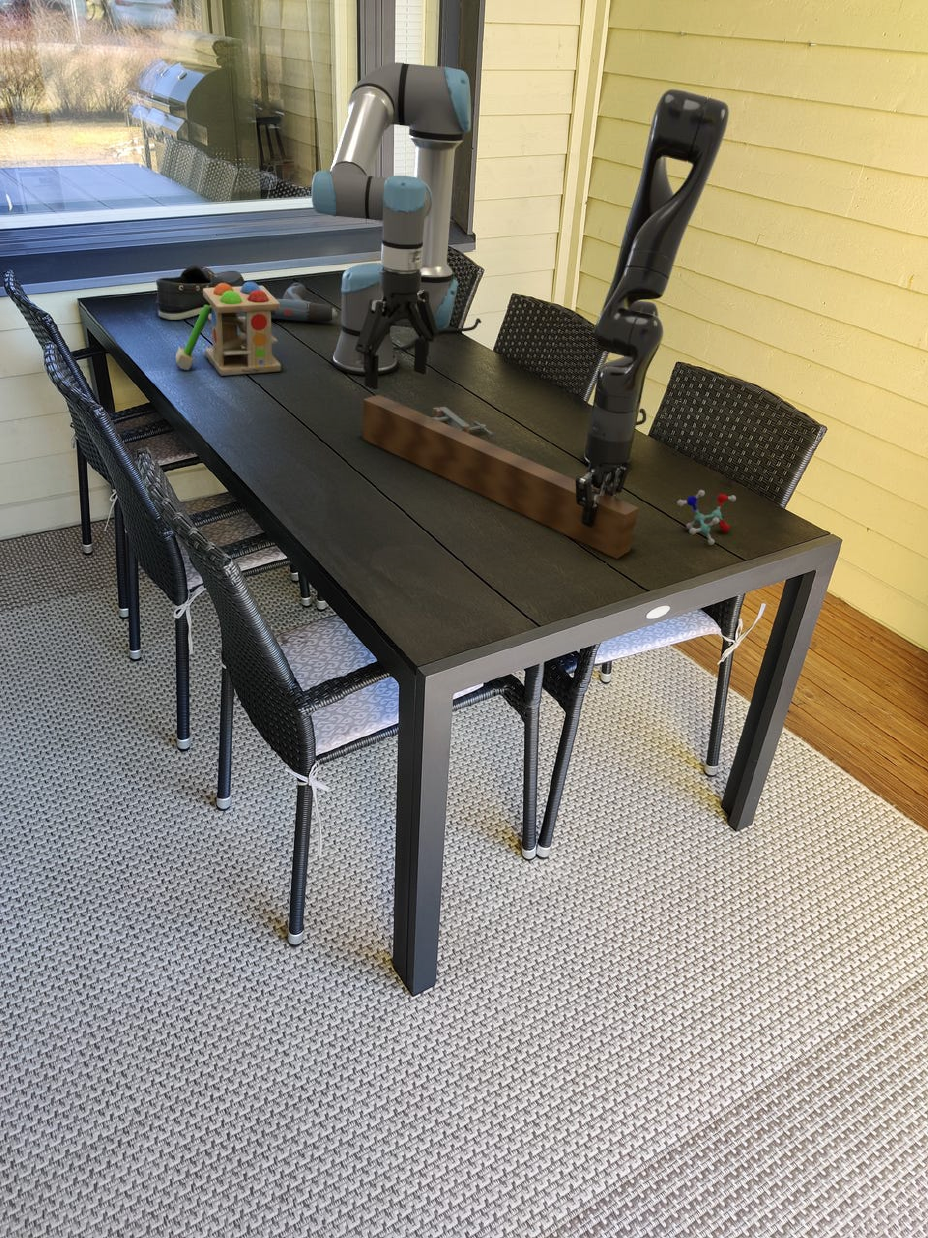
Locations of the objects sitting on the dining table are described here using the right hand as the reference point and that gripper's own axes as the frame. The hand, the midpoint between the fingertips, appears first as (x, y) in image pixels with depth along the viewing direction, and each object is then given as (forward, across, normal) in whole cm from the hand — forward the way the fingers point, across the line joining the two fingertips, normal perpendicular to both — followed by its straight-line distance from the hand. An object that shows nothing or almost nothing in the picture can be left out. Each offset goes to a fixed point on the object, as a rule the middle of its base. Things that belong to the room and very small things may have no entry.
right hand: (595, 520), depth 173 cm
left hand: (-10, 0, +50) cm, 51 cm away
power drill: (+4, +43, +126) cm, 133 cm away
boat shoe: (+4, +24, +146) cm, 148 cm away
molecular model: (+4, +18, -12) cm, 22 cm away
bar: (+4, 0, +25) cm, 25 cm away
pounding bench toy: (+4, +1, +106) cm, 107 cm away
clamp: (+4, +17, +48) cm, 51 cm away
